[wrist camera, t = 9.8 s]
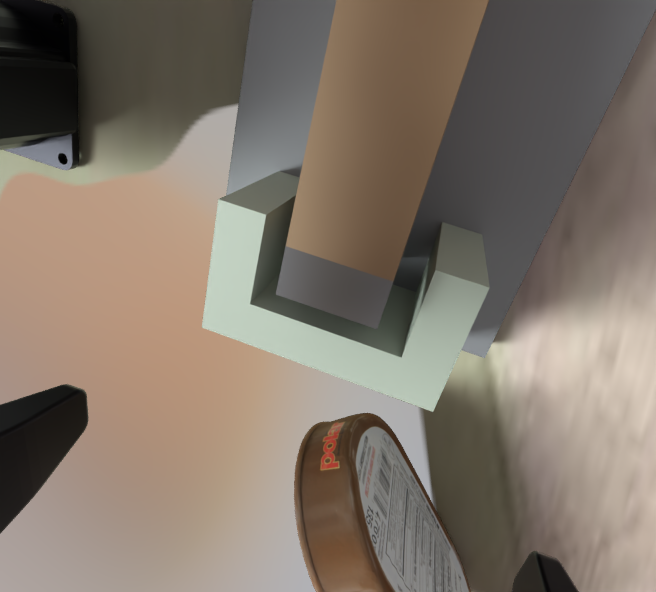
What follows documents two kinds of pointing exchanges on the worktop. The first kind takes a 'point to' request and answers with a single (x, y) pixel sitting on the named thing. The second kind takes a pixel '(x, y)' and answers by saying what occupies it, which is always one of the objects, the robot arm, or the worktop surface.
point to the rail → (373, 147)
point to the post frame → (440, 193)
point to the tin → (369, 514)
